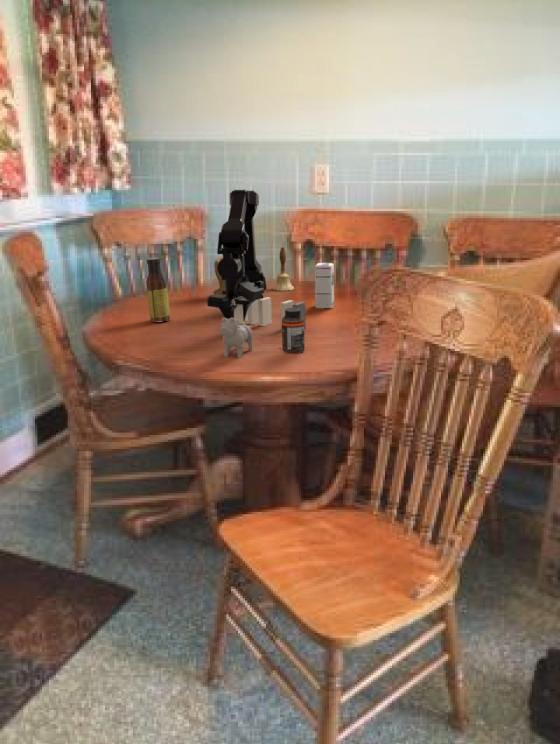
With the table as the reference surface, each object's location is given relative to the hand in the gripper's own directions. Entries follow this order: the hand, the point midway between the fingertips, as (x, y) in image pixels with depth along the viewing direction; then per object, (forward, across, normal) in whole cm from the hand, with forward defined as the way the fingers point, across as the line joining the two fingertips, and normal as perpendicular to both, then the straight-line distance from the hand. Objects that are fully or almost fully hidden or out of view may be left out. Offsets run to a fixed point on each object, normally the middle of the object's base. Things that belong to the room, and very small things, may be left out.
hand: (236, 325), depth 194 cm
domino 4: (+2, +12, -1) cm, 12 cm away
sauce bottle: (+2, -2, +30) cm, 30 cm away
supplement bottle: (+2, -7, -25) cm, 26 cm away
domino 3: (+2, +12, +3) cm, 12 cm away
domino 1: (+2, 0, 0) cm, 2 cm away
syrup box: (+2, +42, -4) cm, 42 cm away
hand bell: (+2, +60, +26) cm, 65 cm away
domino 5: (+2, +12, -10) cm, 16 cm away
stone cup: (+2, +40, +34) cm, 53 cm away
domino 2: (+2, +12, +7) cm, 14 cm away
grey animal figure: (+2, -17, -14) cm, 22 cm away
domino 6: (+2, +12, -14) cm, 19 cm away
